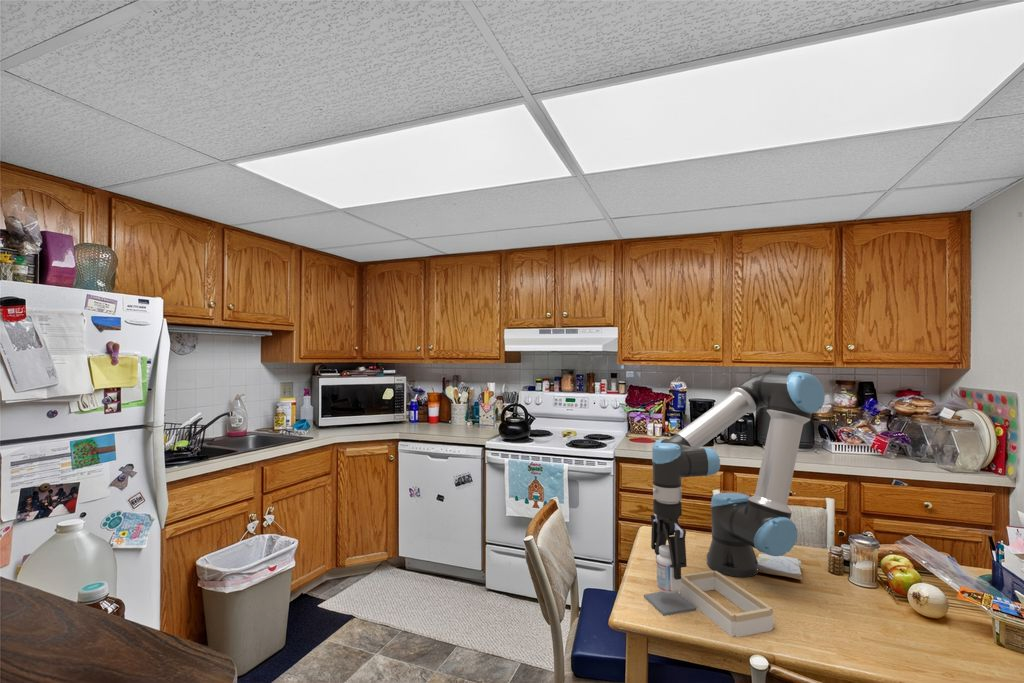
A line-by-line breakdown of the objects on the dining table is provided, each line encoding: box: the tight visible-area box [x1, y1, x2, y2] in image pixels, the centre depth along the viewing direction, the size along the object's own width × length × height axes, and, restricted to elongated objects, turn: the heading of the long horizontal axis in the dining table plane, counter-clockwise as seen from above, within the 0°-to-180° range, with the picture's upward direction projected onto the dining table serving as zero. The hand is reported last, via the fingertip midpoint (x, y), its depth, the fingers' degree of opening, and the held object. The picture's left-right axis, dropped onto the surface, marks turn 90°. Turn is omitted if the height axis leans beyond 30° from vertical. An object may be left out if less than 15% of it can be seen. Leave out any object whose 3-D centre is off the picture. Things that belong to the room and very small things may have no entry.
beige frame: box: [679, 570, 774, 638], centre depth 127 cm, size 12×22×5 cm, turn 14°
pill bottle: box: [656, 544, 680, 594], centre depth 131 cm, size 6×6×11 cm
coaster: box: [643, 591, 697, 616], centre depth 131 cm, size 10×10×1 cm
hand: (668, 583), depth 131 cm, fingers closed on pill bottle, 6 cm apart
